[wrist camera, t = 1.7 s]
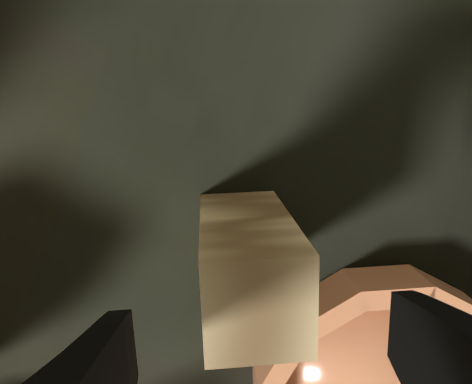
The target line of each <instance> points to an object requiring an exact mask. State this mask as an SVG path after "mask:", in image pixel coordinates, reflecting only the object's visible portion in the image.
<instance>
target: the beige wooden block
mask: <svg viewBox="0 0 472 384" xmlns="http://www.w3.org/2000/svg"><path fill="white" fill-rule="evenodd" d="M319 261H320V256H319V255H318V253H317V252H316V250H315V249H314V247H313V246H312V245H311V243H310V242H309V240H308V239H307V237H306V236H305V235H304V233H303V232H302V230H301V229H300V228H299V226H298V225H297V223H296V222H295V220H294V219H293V218H292V216H291V215H290V213H289V212H288V211H287V209H286V208H285V206H284V205H283V203H282V202H281V201H280V199H279V198H278V196H277V195H276V193H275V192H274V191H260V192H240V193H221V194H201V195H200V228H199V280H200V297H201V314H202V330H203V347H204V364H205V370H211V369H224V368H236V367H249V366H261V365H274V364H286V363H299V362H312V361H318V316H319Z"/></svg>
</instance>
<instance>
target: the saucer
mask: <svg viewBox="0 0 472 384" xmlns="http://www.w3.org/2000/svg"><path fill="white" fill-rule="evenodd" d="M406 290H414V291H417V292H420V293H423V294H425V295H428V296H430V297H433V298H435V299H437V300H440V301H442V302H444V303H446V304H449V305H451V306H453V307H455V308H458V309H460V310H462V311H464V312H467V313H469V314H471V315H472V299H471V298H470V297H469V296H467V295H466V294H465V293H464V292H462V291H460V290H459V289H457V288H455V287H453V286H451V285H449V284H447V283H445V282H443V281H441V280H439V279H437V278H435V277H433V276H431V275H429V274H427V273H425V272H423V271H421V270H419V269H417V268H415V267H413V266H411V265H409V264H406V265H390V266H374V267H359V268H343V269H341V270H340V271H338V272H336V273H335V274H333V275H331V276H329V277H328V278H326V279H324V280H323V281H321V282H319V316H318V361H312V362H299V363H286V364H274V365H261V366H252V371H253V384H401V383H400V381H399V379H398V377H397V375H396V373H395V371H394V369H393V367H392V365H391V363H390V360H389V358H388V356H387V350H388V335H389V320H390V304H391V291H406Z"/></svg>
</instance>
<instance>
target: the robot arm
mask: <svg viewBox="0 0 472 384" xmlns="http://www.w3.org/2000/svg"><path fill="white" fill-rule="evenodd" d="M387 356H388V358H389V360H390V363H391V365H392V367H393V369H394V371H395V373H396V375H397V377H398V379H399V381H400V383H401V384H472V315H471V314H469V313H467V312H464V311H462V310H460V309H458V308H455V307H453V306H451V305H449V304H446V303H444V302H442V301H440V300H437V299H435V298H433V297H430V296H428V295H425V294H423V293H420V292H417V291H414V290H406V291H391V304H390V320H389V335H388V350H387ZM137 381H138V368H137V358H136V349H135V339H134V330H133V321H132V311H131V309H130V310H116V311H108V312H107V313H105V314H104V315H103V316H102V317H101V318H99V319H98V320H97V321H96V322H95V323H94V324H93V325H92V326H91V327H89V328H88V329H87V330H86V331H85V332H84V333H83V334H82V335H81V336H79V337H78V338H77V339H76V340H75V341H74V342H73V343H72V344H70V345H69V346H68V347H67V348H66V349H65V350H64V351H62V352H61V353H60V354H59V355H57V356H56V357H55V358H54V359H52V360H51V361H50V362H49V363H47V364H46V365H45V366H44V367H42V368H41V369H40V370H39V371H37V372H36V373H35V374H34V375H32V376H31V377H30V378H28V379H27V380H26V381H24V382H23V383H22V384H137Z"/></svg>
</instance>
